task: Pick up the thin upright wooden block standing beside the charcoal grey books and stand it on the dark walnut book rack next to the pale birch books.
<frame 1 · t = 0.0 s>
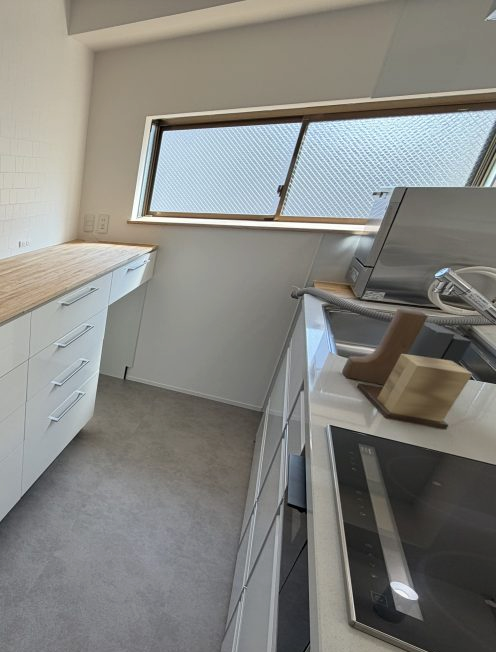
grey books: (412, 386, 101), on the table
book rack: (397, 406, 92), on the table
wooden block: (364, 379, 105), on the table
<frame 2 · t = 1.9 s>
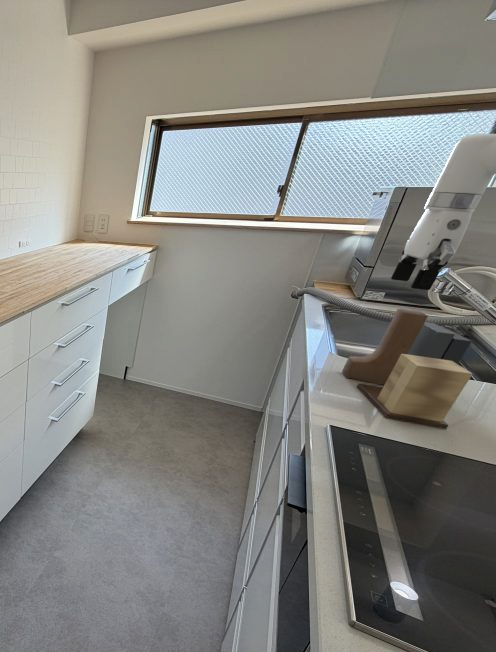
hand: (408, 284, 94), 24 cm above the table, tool pointing down, fingers open, 9 cm apart
nothing on the table moved.
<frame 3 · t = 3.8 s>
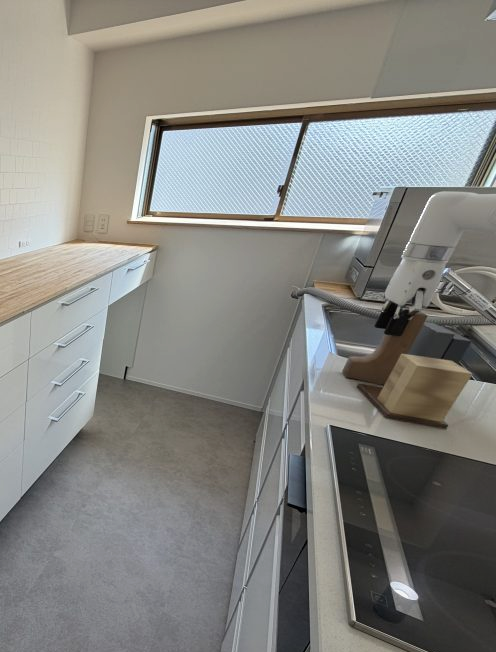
hand: (387, 330, 99), 13 cm above the table, tool pointing down, fingers closed on wooden block, 4 cm apart
wooden block: (364, 379, 104), on the table, touching gripper
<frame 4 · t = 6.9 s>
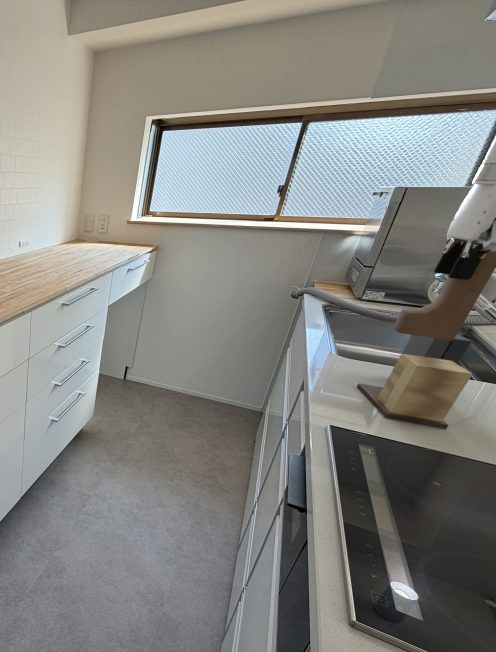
hand: (451, 275, 84), 28 cm above the table, tool pointing down, fingers closed on wooden block, 4 cm apart
wooden block: (420, 335, 89), point 15 cm above the table, touching gripper
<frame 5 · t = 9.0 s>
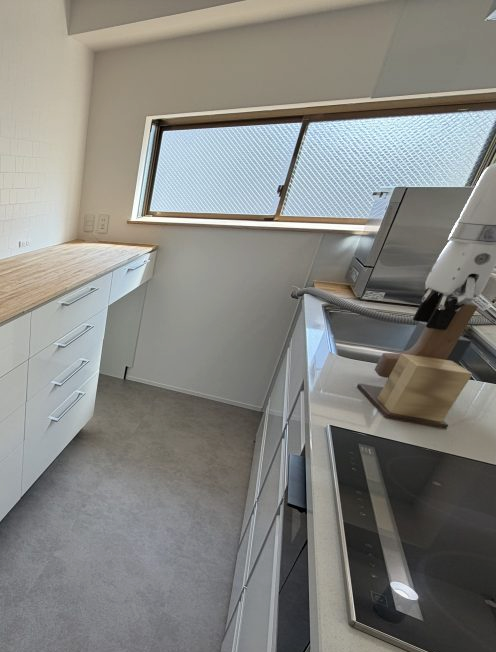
hand: (428, 324, 87), 18 cm above the table, tool pointing down, fingers closed on wooden block, 4 cm apart
wooden block: (400, 378, 93), point 5 cm above the table, touching gripper
when the fingers open (14 cm above the table, at t = 10.3 s): wooden block stays where it is, resting on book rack.
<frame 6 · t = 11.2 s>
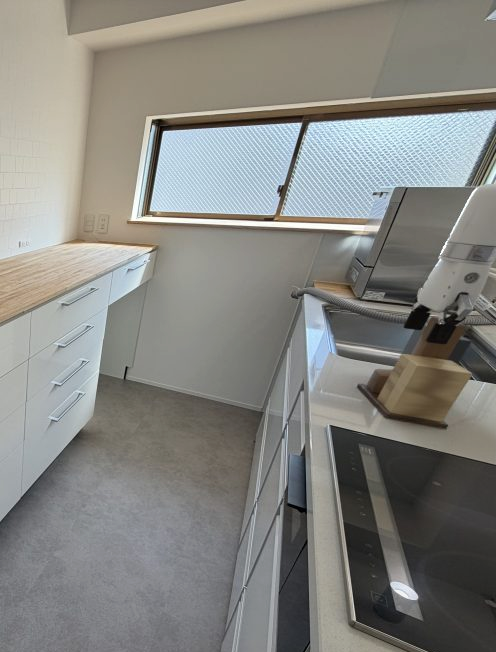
hand: (423, 335, 88), 15 cm above the table, tool pointing down, fingers open, 9 cm apart
wooden block: (392, 394, 95), point 1 cm above the table, touching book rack
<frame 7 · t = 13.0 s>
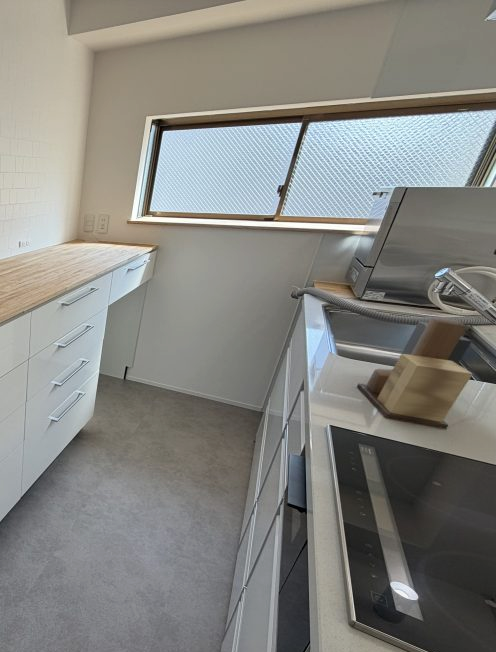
nothing on the table moved.
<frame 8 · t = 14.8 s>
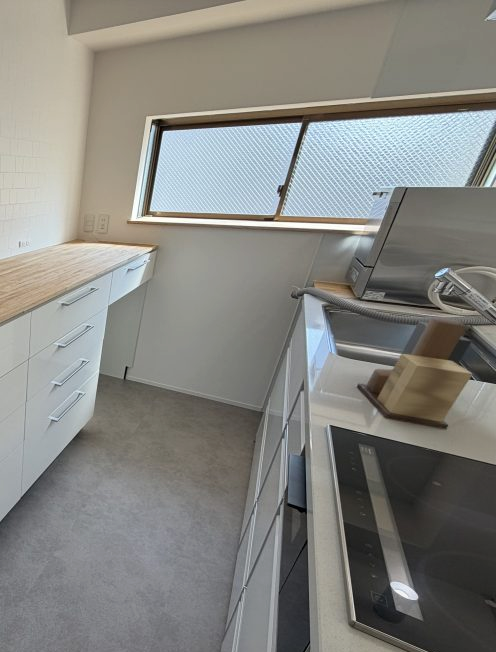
nothing on the table moved.
at the end: wooden block 0.4 cm from the target spot, point 0.8 cm above the table; wooden block tilted 0°; the gripper is holding nothing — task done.
